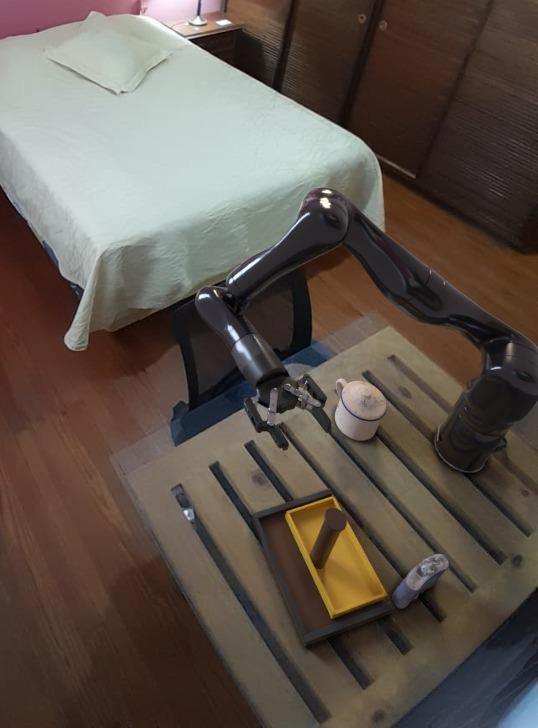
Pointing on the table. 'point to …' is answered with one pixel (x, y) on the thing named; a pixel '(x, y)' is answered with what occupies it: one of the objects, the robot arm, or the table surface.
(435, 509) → the table surface
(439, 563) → the flask
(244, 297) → the robot arm
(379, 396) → the teacup with lid
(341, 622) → the track
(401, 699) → the table surface
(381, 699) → the table surface
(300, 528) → the tray
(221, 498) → the table surface
